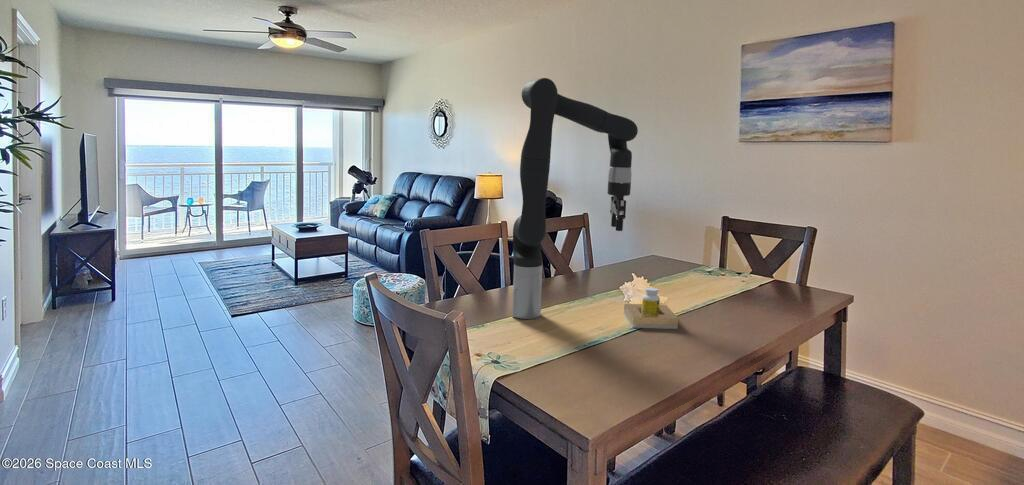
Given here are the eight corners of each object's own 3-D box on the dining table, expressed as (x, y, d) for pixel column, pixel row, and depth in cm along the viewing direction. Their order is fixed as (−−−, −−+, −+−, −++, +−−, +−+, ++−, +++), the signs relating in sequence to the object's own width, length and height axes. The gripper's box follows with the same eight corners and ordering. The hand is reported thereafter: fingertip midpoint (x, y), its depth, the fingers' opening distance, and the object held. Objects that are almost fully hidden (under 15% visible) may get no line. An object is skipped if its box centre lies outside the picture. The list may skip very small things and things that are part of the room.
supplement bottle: (658, 321, 174) (660, 291, 172) (641, 319, 175) (643, 290, 173) (657, 316, 179) (659, 287, 178) (640, 314, 180) (642, 286, 179)
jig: (632, 327, 171) (633, 317, 170) (623, 313, 184) (624, 303, 184) (677, 328, 171) (678, 318, 170) (665, 314, 184) (665, 304, 184)
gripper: (604, 179, 189) (602, 225, 192) (612, 182, 175) (609, 232, 178) (626, 179, 189) (623, 225, 192) (635, 182, 175) (632, 232, 178)
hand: (616, 228), depth 185 cm, fingers open, 8 cm apart
